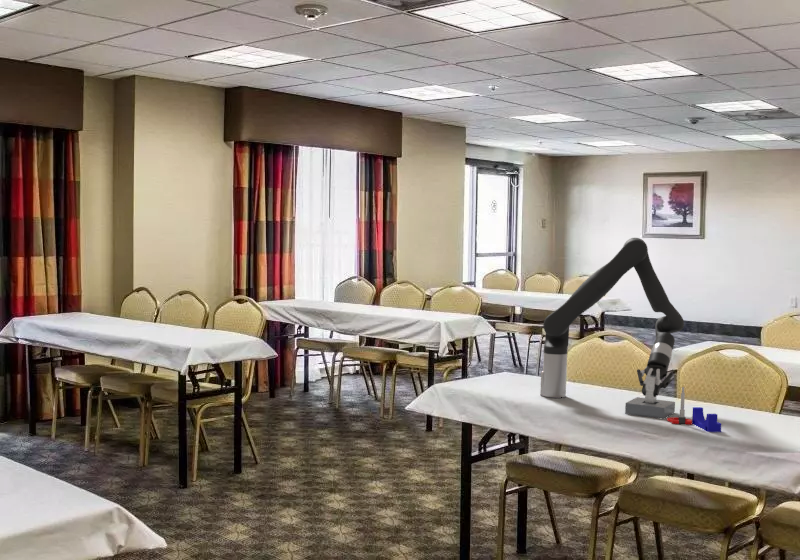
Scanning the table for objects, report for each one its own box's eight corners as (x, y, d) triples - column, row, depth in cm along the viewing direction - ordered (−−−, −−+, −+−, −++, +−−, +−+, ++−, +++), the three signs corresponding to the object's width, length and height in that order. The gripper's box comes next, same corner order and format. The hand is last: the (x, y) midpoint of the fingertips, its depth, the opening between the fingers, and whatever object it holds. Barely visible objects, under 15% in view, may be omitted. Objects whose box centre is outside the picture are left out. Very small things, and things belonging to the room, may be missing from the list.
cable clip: (721, 432, 290) (721, 414, 289) (708, 432, 289) (708, 414, 289) (704, 424, 302) (705, 407, 301) (692, 424, 301) (692, 407, 301)
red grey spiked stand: (665, 419, 309) (669, 424, 300) (666, 383, 309) (670, 386, 300) (689, 421, 308) (694, 425, 299) (691, 384, 308) (696, 388, 298)
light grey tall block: (644, 406, 317) (645, 376, 316) (647, 404, 320) (648, 375, 319) (653, 407, 315) (654, 377, 314) (656, 406, 318) (657, 376, 317)
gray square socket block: (625, 413, 315) (625, 402, 315) (636, 407, 327) (637, 397, 327) (664, 419, 308) (664, 407, 308) (674, 412, 320) (675, 401, 319)
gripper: (639, 349, 326) (628, 386, 317) (677, 353, 319) (667, 391, 309) (643, 362, 331) (632, 398, 321) (680, 365, 324) (670, 403, 314)
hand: (649, 394), depth 315 cm, fingers closed on light grey tall block, 3 cm apart
